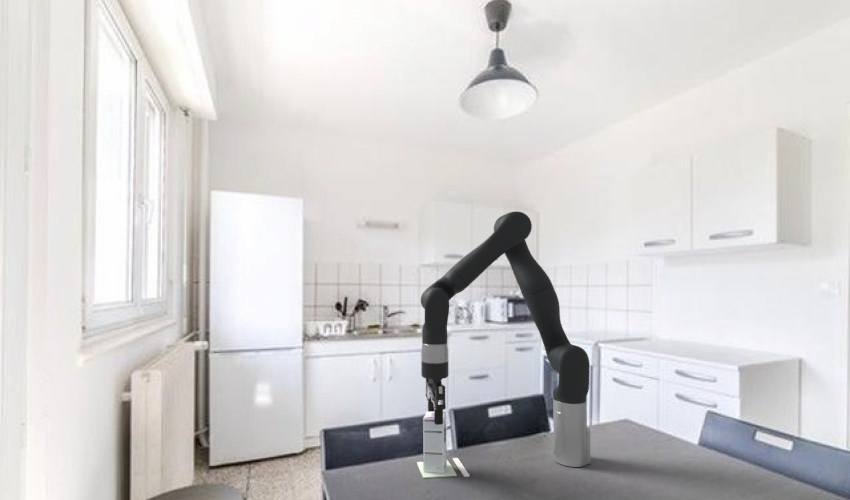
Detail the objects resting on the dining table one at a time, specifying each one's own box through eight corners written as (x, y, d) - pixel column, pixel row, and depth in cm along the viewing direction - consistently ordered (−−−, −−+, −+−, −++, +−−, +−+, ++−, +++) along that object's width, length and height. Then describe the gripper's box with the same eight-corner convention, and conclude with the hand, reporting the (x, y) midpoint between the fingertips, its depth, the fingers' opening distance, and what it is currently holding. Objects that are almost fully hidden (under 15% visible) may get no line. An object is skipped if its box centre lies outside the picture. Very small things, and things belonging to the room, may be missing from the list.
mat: (447, 460, 125) (447, 459, 125) (456, 475, 115) (456, 474, 115) (416, 463, 124) (416, 461, 124) (423, 478, 114) (423, 477, 114)
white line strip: (457, 458, 127) (457, 457, 127) (469, 476, 115) (469, 475, 115) (452, 459, 127) (452, 458, 127) (464, 477, 115) (464, 475, 115)
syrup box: (444, 473, 116) (444, 417, 117) (422, 472, 117) (423, 416, 118) (446, 465, 122) (447, 411, 123) (425, 463, 122) (426, 410, 124)
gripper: (454, 363, 115) (455, 426, 114) (442, 355, 129) (442, 411, 128) (426, 364, 114) (426, 428, 113) (417, 355, 128) (417, 412, 127)
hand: (435, 419), depth 120 cm, fingers open, 8 cm apart
